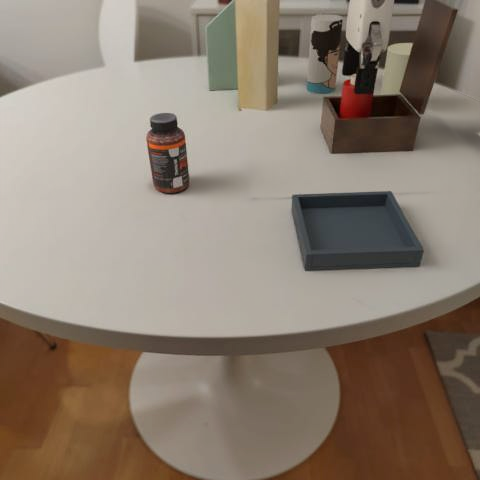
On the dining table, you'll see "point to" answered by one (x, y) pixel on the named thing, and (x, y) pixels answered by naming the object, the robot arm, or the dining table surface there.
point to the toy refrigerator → (257, 53)
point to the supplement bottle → (167, 154)
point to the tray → (354, 231)
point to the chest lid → (427, 52)
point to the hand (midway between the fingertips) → (356, 83)
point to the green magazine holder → (222, 50)
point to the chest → (371, 126)
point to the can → (395, 68)
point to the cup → (324, 53)
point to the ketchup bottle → (354, 101)
